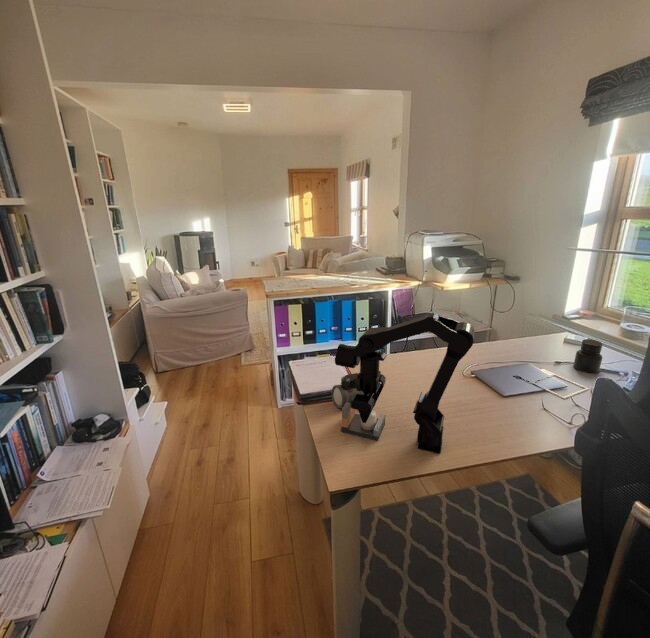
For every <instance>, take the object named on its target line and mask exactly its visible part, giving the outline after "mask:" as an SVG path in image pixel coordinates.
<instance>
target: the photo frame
mask: <svg viewBox="0 0 650 638" xmlns="http://www.w3.org/2000/svg"><path fill="white" fill-rule="evenodd" d="M540 370H541V371H542V372H544V373H547V374H548V375H550V376H552V377H556V378H559V379H561V380H563V381H566V382H568V383H570V384H572V385H574V386H577V387H580V388H582V389H579V390H578V391H575V392H573V393H569V394H568V395H565V396H563V395H561V394H559V393H556V392H554V391H552V390H550V389H548V388H546V389H545V390H544V391H545V392H548V393H550V394H552V395H554V396H556V397H559V398H560V399H562V400H567V399H568V398H571V397H574V396H576V395H579V394H582V393H584V392H586V391H588V390H589V389H590V388H589V387H587V386H584V385H581V384H579V383H577V382H574V381H573V380H570V379H568V378H566V377H563V376H560V375H558V374H556V373H554V372H552V371H549V370H547V369H544V368H542V369H540Z"/></svg>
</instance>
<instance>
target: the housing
mask: <svg viewBox="0 0 650 638" xmlns="http://www.w3.org/2000/svg"><path fill="white" fill-rule="evenodd" d="M376 418H377V412H376V410H374V408H373V409H372V411H371V413H370V416H369V418H368V420H367V422H366V423H363V422H362V420H361V427H362V428H363V429H365V430H373V429H374V428H375V426H376Z"/></svg>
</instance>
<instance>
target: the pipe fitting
mask: <svg viewBox="0 0 650 638" xmlns="http://www.w3.org/2000/svg"><path fill="white" fill-rule="evenodd" d="M343 378H344V376H342V377H341V378H340V381H341V380H342V379H343ZM356 394H360V395H364V393H363V392H362V391H356V388H355V389H350V390H343V388H341V384H335V385H333V387H332V389H331V401H332V403H333V405H334V406H335V408H337V409H342V408H343V407H344V405H345V403H346V402H348V403H350V402H351V400H352V398H353V397H354V396H355V395H356Z"/></svg>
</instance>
